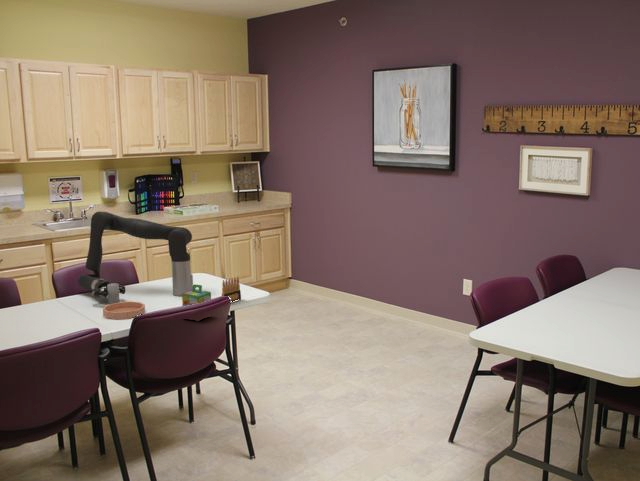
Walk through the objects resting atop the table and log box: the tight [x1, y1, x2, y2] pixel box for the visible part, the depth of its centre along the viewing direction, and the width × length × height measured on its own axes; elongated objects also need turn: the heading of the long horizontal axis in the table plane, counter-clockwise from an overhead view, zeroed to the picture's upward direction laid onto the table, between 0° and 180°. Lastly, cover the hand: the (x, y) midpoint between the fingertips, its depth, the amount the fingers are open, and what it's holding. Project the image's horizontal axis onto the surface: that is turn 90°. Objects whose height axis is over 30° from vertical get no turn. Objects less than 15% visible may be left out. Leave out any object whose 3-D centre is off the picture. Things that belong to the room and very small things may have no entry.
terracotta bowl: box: [102, 301, 146, 320], centre depth 280 cm, size 18×18×3 cm
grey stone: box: [107, 282, 121, 305], centre depth 293 cm, size 5×5×10 cm
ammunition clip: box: [221, 275, 242, 303], centre depth 296 cm, size 11×2×12 cm, turn 139°
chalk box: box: [181, 283, 212, 307], centre depth 271 cm, size 9×9×15 cm
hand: (115, 293), depth 291 cm, fingers open, 8 cm apart
